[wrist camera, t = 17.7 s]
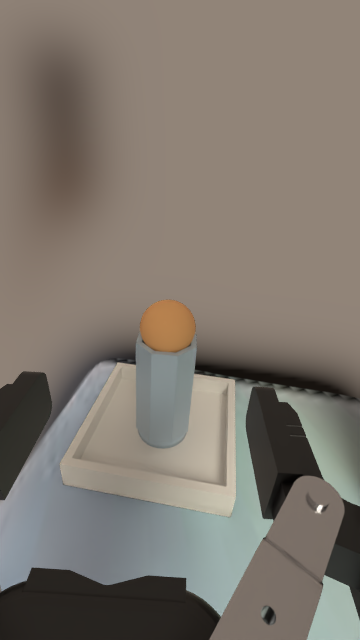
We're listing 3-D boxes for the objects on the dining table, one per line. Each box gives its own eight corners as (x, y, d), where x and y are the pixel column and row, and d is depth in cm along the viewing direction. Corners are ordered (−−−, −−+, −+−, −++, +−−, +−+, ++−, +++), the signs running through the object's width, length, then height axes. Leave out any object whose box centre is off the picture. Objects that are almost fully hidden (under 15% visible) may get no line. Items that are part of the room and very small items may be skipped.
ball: (177, 332, 33) (181, 288, 31) (203, 358, 29) (209, 309, 27) (132, 342, 31) (131, 295, 28) (152, 372, 27) (154, 320, 24)
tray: (118, 379, 43) (117, 362, 42) (231, 397, 42) (234, 379, 40) (63, 484, 29) (59, 463, 28) (230, 517, 28) (235, 497, 26)
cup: (187, 411, 37) (196, 326, 32) (186, 450, 32) (197, 357, 27) (141, 408, 37) (142, 322, 32) (133, 446, 32) (132, 352, 27)
